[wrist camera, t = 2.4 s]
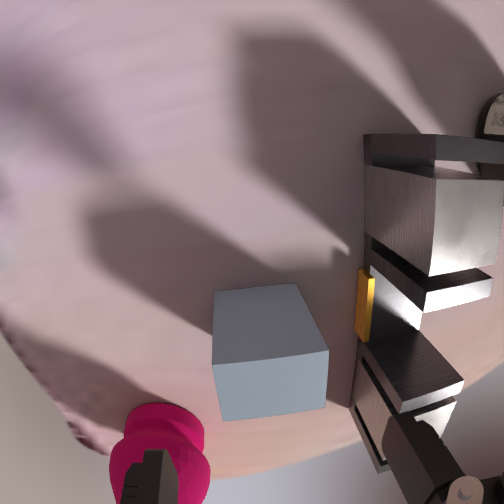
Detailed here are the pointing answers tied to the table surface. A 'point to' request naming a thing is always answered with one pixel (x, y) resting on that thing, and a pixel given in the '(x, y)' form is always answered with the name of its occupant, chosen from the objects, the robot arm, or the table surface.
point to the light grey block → (267, 353)
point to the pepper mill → (164, 437)
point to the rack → (418, 272)
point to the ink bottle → (492, 133)
